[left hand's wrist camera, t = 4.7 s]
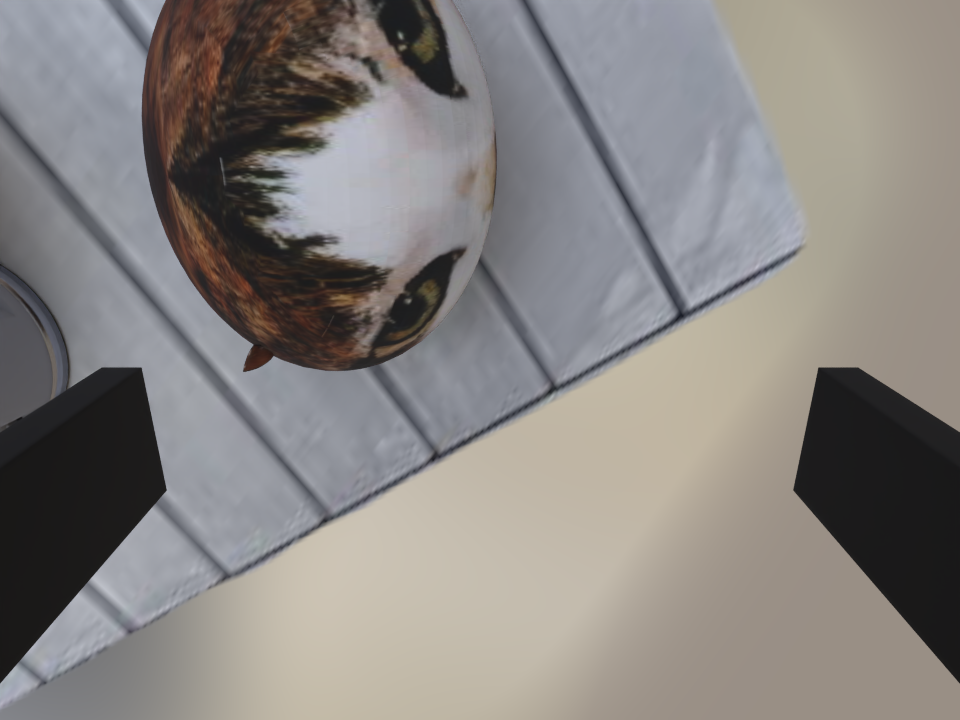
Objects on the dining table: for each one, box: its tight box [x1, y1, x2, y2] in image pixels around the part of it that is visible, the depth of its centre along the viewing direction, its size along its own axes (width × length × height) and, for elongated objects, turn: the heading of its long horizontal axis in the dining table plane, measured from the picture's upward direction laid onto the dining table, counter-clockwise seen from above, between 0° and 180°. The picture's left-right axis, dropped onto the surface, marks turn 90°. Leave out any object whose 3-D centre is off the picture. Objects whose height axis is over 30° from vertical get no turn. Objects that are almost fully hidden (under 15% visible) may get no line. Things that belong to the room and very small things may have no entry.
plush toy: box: [142, 0, 497, 372], centre depth 34 cm, size 22×18×20 cm
